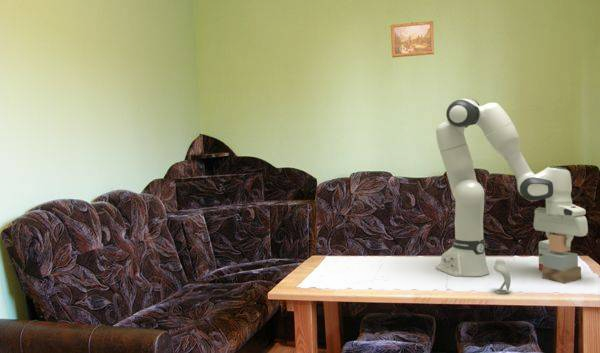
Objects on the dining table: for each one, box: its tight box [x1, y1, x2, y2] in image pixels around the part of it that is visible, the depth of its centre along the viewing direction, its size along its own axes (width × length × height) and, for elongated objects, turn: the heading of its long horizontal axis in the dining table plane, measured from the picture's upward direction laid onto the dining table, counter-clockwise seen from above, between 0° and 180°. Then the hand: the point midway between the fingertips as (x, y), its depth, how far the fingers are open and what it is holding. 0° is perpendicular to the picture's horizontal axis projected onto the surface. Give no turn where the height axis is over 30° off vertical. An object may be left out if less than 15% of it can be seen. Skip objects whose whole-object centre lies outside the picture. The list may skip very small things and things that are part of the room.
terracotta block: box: [548, 233, 571, 252], centre depth 184 cm, size 5×5×6 cm
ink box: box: [538, 239, 553, 271], centre depth 199 cm, size 8×5×12 cm, turn 120°
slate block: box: [543, 251, 579, 271], centre depth 185 cm, size 8×9×5 cm
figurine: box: [493, 258, 512, 294], centre depth 172 cm, size 8×5×12 cm
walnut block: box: [541, 265, 582, 284], centre depth 185 cm, size 9×10×5 cm
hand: (559, 244), depth 184 cm, fingers closed on terracotta block, 5 cm apart
